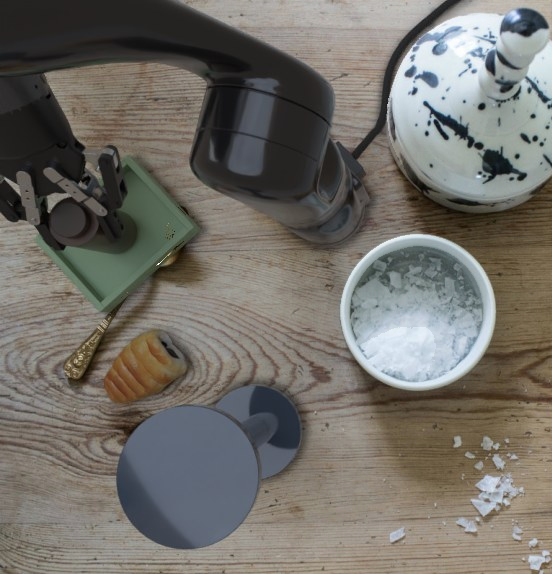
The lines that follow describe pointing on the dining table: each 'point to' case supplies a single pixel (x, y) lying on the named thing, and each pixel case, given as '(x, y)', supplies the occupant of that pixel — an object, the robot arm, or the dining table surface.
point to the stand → (205, 465)
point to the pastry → (144, 368)
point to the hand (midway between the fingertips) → (90, 242)
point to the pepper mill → (87, 228)
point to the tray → (141, 255)
